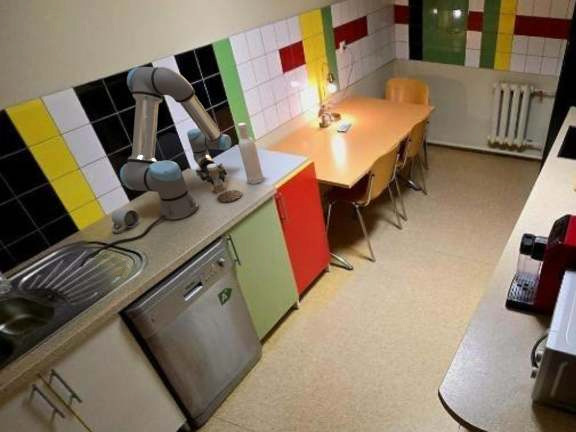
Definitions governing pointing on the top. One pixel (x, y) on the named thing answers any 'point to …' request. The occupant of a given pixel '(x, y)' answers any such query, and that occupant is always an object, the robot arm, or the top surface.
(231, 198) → the disc
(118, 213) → the ceramic mug
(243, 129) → the bottle
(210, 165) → the sprinkles bottle
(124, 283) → the top surface
